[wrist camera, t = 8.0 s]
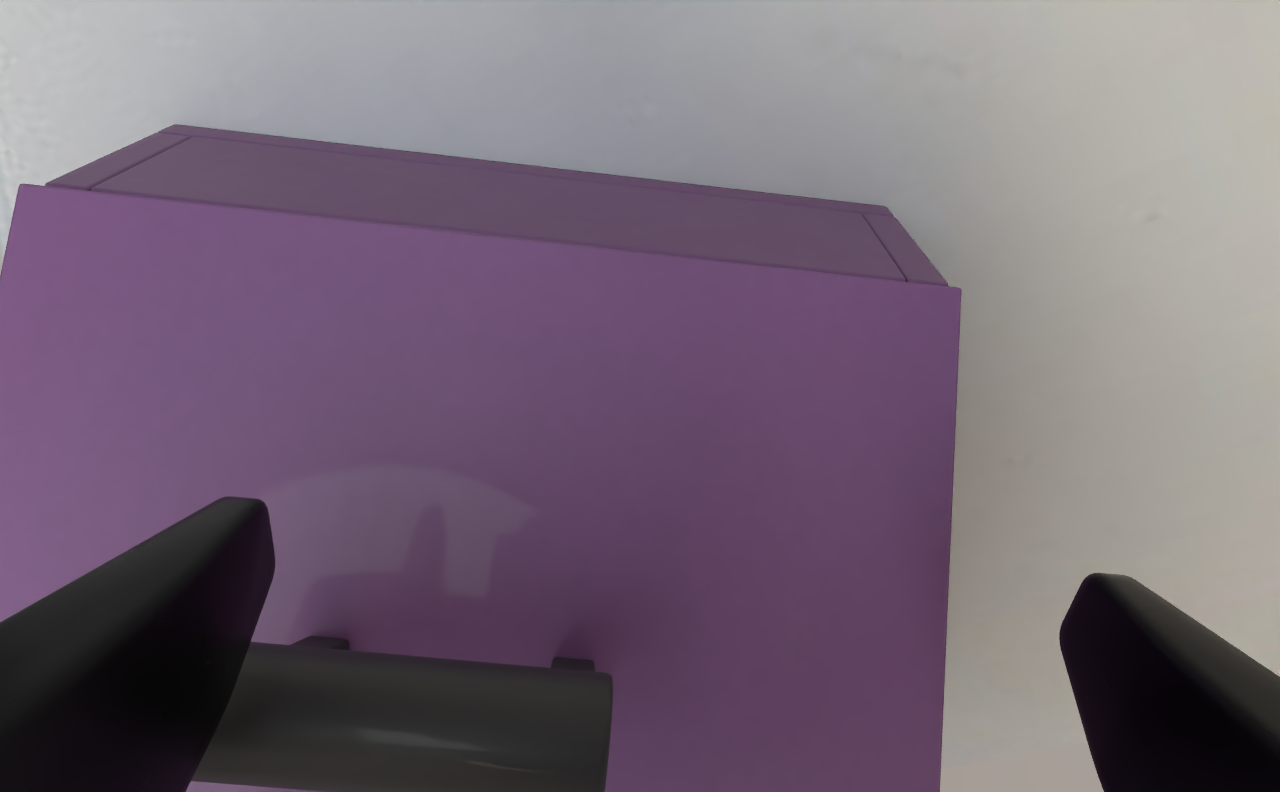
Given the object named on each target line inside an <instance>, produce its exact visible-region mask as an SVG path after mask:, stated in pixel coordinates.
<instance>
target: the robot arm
mask: <svg viewBox="0 0 1280 792" xmlns="http://www.w3.org/2000/svg"><path fill="white" fill-rule="evenodd" d="M274 572H275V552H274V545H273V538H272V531H271V524H270V517H269V511H268V508H267V506H266V504H265V502H263V501H262V500H260V499H257V498H246V497H234V496H225V497H222V498H220V499H217V500H216V501H214V502H212V503H210V504H209V505H207V506H205V507H203V508H201V509H200V510H198V511H196V512H194V513H193V514H191V515H189V516H187V517H185V518H184V519H182V520H180V521H178V522H177V523H175V524H173V525H171V526H170V527H168V528H166V529H164V530H162V531H161V532H159V533H157V534H155V535H154V536H152V537H150V538H148V539H147V540H145V541H143V542H141V543H139V544H138V545H136V546H134V547H132V548H131V549H129V550H127V551H125V552H124V553H122V554H120V555H118V556H116V557H115V558H113V559H111V560H109V561H108V562H106V563H104V564H102V565H101V566H99V567H97V568H95V569H93V570H92V571H90V572H88V573H86V574H85V575H83V576H81V577H79V578H77V579H76V580H74V581H72V582H70V583H69V584H67V585H65V586H63V587H62V588H60V589H58V590H56V591H54V592H53V593H51V594H49V595H47V596H46V597H44V598H42V599H40V600H39V601H37V602H35V603H33V604H31V605H30V606H28V607H26V608H24V609H23V610H21V611H19V612H17V613H16V614H14V615H12V616H10V617H8V618H7V619H5V620H3V621H1V622H0V792H186V790H187V788H188V786H189V784H190V782H191V780H192V778H193V776H194V774H195V772H196V770H197V768H198V766H199V764H200V762H201V760H202V758H203V756H204V754H205V752H206V750H207V748H208V746H209V744H210V742H211V740H212V738H213V735H214V733H215V731H216V729H217V727H218V725H219V723H220V721H221V718H222V716H223V714H224V712H225V710H226V707H227V705H228V702H229V700H230V697H231V695H232V692H233V689H234V687H235V684H236V681H237V678H238V676H239V673H240V670H241V667H242V664H243V662H244V659H245V656H246V653H247V650H248V648H249V645H250V642H251V639H252V636H253V634H254V631H255V628H256V625H257V622H258V620H259V617H260V614H261V611H262V609H263V606H264V603H265V600H266V597H267V595H268V592H269V589H270V586H271V583H272V580H273V577H274ZM1059 639H1060V647H1061V651H1062V655H1063V658H1064V662H1065V665H1066V668H1067V672H1068V675H1069V679H1070V682H1071V686H1072V689H1073V693H1074V696H1075V700H1076V703H1077V707H1078V710H1079V714H1080V717H1081V721H1082V724H1083V728H1084V731H1085V735H1086V738H1087V742H1088V745H1089V748H1090V752H1091V755H1092V758H1093V761H1094V764H1095V768H1096V770H1097V774H1098V777H1099V779H1100V782H1101V784H1102V787H1103V790H1104V792H1280V677H1279V676H1277V675H1276V674H1275V673H1273V672H1272V671H1270V670H1269V669H1267V668H1266V667H1264V666H1263V665H1261V664H1260V663H1258V662H1257V661H1255V660H1254V659H1252V658H1251V657H1249V656H1248V655H1246V654H1245V653H1243V652H1242V651H1240V650H1239V649H1237V648H1236V647H1234V646H1233V645H1231V644H1230V643H1228V642H1227V641H1225V640H1224V639H1222V638H1221V637H1219V636H1218V635H1217V634H1215V633H1214V632H1212V631H1211V630H1209V629H1208V628H1206V627H1205V626H1203V625H1202V624H1200V623H1199V622H1197V621H1196V620H1194V619H1193V618H1191V617H1190V616H1188V615H1187V614H1185V613H1184V612H1182V611H1181V610H1179V609H1178V608H1176V607H1175V606H1173V605H1172V604H1170V603H1169V602H1167V601H1166V600H1164V599H1163V598H1162V597H1160V596H1159V595H1157V594H1156V593H1154V592H1153V591H1151V590H1150V589H1148V588H1147V587H1145V586H1144V585H1142V584H1141V583H1139V582H1138V581H1136V580H1135V579H1133V578H1131V577H1128V576H1125V575H1117V574H1105V573H1093V574H1090V575H1088V576H1087V577H1086V578H1085V579H1084V580H1083V582H1082V583H1081V586H1080V588H1079V590H1078V592H1077V594H1076V596H1075V598H1074V600H1073V602H1072V604H1071V606H1070V608H1069V610H1068V612H1067V614H1066V616H1065V618H1064V620H1063V622H1062V625H1061V629H1060V638H1059Z"/></svg>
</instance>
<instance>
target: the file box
mask: <svg viewBox="0 0 1280 792" xmlns="http://www.w3.org/2000/svg"><path fill="white" fill-rule="evenodd" d="M45 186H49V187H57V188H66V189H75V190H84V191H93V192H102V193H111V194H120V195H129V196H138V197H147V198H156V199H165V200H174V201H183V202H192V203H201V204H210V205H219V206H228V207H237V208H246V209H255V210H264V211H273V212H282V213H291V214H300V215H309V216H318V217H327V218H336V219H345V220H354V221H363V222H372V223H381V224H390V225H399V226H408V227H417V228H426V229H435V230H444V231H453V232H462V233H471V234H480V235H489V236H498V237H507V238H516V239H525V240H534V241H543V242H552V243H561V244H570V245H579V246H588V247H597V248H606V249H615V250H624V251H633V252H642V253H651V254H660V255H669V256H678V257H687V258H696V259H705V260H714V261H723V262H732V263H741V264H750V265H759V266H768V267H777V268H786V269H795V270H804V271H813V272H822V273H831V274H840V275H849V276H858V277H867V278H876V279H885V280H894V281H903V282H912V283H921V284H930V285H939V286H948V283H947V282H946V281H945V279H944V278H943V277H942V276H941V274H940V273H939V272H938V271H937V269H936V268H935V267H934V266H933V264H932V263H931V262H930V261H929V259H928V258H927V257H926V255H925V254H924V253H923V252H922V250H921V249H920V248H919V247H918V245H917V244H916V243H915V242H914V240H913V239H912V238H911V237H910V235H909V234H908V233H907V232H906V230H905V229H904V228H903V226H902V225H901V224H900V223H899V221H898V220H897V219H896V218H895V217H894V216H893V214H892V213H891V212H890V211H889V209H888V208H887V207H885V206H876V205H868V204H859V203H850V202H842V201H833V200H824V199H816V198H807V197H798V196H790V195H781V194H772V193H764V192H755V191H746V190H738V189H729V188H720V187H712V186H703V185H694V184H686V183H677V182H668V181H660V180H651V179H642V178H634V177H625V176H616V175H608V174H599V173H590V172H582V171H573V170H564V169H556V168H547V167H538V166H530V165H521V164H513V163H504V162H495V161H487V160H478V159H469V158H461V157H452V156H443V155H435V154H426V153H417V152H409V151H400V150H391V149H383V148H374V147H365V146H357V145H348V144H339V143H331V142H322V141H313V140H305V139H296V138H287V137H279V136H270V135H261V134H253V133H244V132H235V131H227V130H218V129H209V128H201V127H192V126H183V125H172V126H170V127H168V128H166V129H163V130H161V131H159V132H158V133H155V134H153V135H150V136H148V137H146V138H144V139H142V140H139V141H137V142H135V143H133V144H131V145H128V146H126V147H124V148H122V149H120V150H118V151H115V152H113V153H111V154H109V155H107V156H104V157H102V158H100V159H98V160H96V161H93V162H91V163H89V164H87V165H85V166H83V167H80V168H78V169H76V170H74V171H72V172H69V173H67V174H65V175H63V176H61V177H59V178H56V179H54V180H52V181H50V182H48V183H46V185H45Z"/></svg>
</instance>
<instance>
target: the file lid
mask: <svg viewBox="0 0 1280 792" xmlns="http://www.w3.org/2000/svg"><path fill="white" fill-rule="evenodd" d="M960 310H961V289H960V288H956V287H948V286H939V285H930V284H921V283H912V282H903V281H894V280H885V279H876V278H867V277H858V276H849V275H840V274H831V273H822V272H813V271H804V270H795V269H786V268H777V267H768V266H759V265H750V264H741V263H732V262H723V261H714V260H705V259H696V258H687V257H678V256H669V255H660V254H651V253H642V252H633V251H624V250H615V249H606V248H597V247H588V246H579V245H570V244H561V243H552V242H543V241H534V240H525V239H516V238H507V237H498V236H489V235H480V234H471V233H462V232H453V231H444V230H435V229H426V228H417V227H408V226H399V225H390V224H381V223H372V222H363V221H354V220H345V219H336V218H327V217H318V216H309V215H300V214H291V213H282V212H273V211H264V210H255V209H246V208H237V207H228V206H219V205H210V204H201V203H192V202H183V201H174V200H165V199H156V198H147V197H138V196H129V195H120V194H111V193H102V192H93V191H84V190H75V189H66V188H57V187H49V186H40V185H31V184H20V185H19V188H18V193H17V198H16V203H15V208H14V212H13V217H12V222H11V227H10V232H9V236H8V241H7V246H6V251H5V256H4V261H3V265H2V270H1V275H0V622H1V621H3V620H5V619H7V618H8V617H10V616H12V615H14V614H16V613H17V612H19V611H21V610H23V609H24V608H26V607H28V606H30V605H31V604H33V603H35V602H37V601H39V600H40V599H42V598H44V597H46V596H47V595H49V594H51V593H53V592H54V591H56V590H58V589H60V588H62V587H63V586H65V585H67V584H69V583H70V582H72V581H74V580H76V579H77V578H79V577H81V576H83V575H85V574H86V573H88V572H90V571H92V570H93V569H95V568H97V567H99V566H101V565H102V564H104V563H106V562H108V561H109V560H111V559H113V558H115V557H116V556H118V555H120V554H122V553H124V552H125V551H127V550H129V549H131V548H132V547H134V546H136V545H138V544H139V543H141V542H143V541H145V540H147V539H148V538H150V537H152V536H154V535H155V534H157V533H159V532H161V531H162V530H164V529H166V528H168V527H170V526H171V525H173V524H175V523H177V522H178V521H180V520H182V519H184V518H185V517H187V516H189V515H191V514H193V513H194V512H196V511H198V510H200V509H201V508H203V507H205V506H207V505H209V504H210V503H212V502H214V501H216V500H217V499H220V498H222V497H225V496H234V497H246V498H257V499H260V500H262V501H263V502H265V504H266V506H267V508H268V511H269V517H270V524H271V531H272V538H273V545H274V552H275V572H274V577H273V580H272V583H271V586H270V589H269V592H268V595H267V597H266V600H265V603H264V606H263V609H262V611H261V614H260V617H259V620H258V622H257V625H256V628H255V631H254V634H253V636H252V639H251V642H250V645H249V648H248V650H247V653H246V656H245V659H244V662H243V664H242V667H241V670H240V673H239V676H238V678H237V681H236V684H235V687H234V689H233V692H232V695H231V697H230V700H229V702H228V705H227V707H226V710H225V712H224V714H223V716H222V718H221V721H220V723H219V725H218V727H217V729H216V731H215V733H214V735H213V738H212V740H211V742H210V744H209V746H208V748H207V750H206V752H205V754H204V756H203V758H202V760H201V762H200V764H199V766H198V768H197V770H196V772H195V774H194V776H193V778H192V780H191V782H190V784H189V786H188V788H187V790H186V792H940V773H941V750H942V727H943V704H944V681H945V657H946V634H947V611H948V588H949V565H950V541H951V518H952V495H953V472H954V449H955V426H956V402H957V379H958V356H959V333H960Z"/></svg>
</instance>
